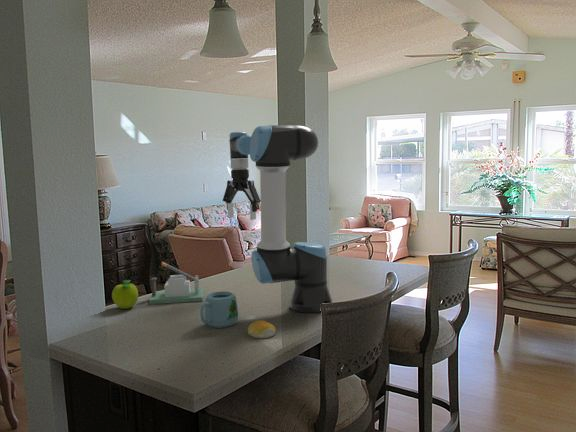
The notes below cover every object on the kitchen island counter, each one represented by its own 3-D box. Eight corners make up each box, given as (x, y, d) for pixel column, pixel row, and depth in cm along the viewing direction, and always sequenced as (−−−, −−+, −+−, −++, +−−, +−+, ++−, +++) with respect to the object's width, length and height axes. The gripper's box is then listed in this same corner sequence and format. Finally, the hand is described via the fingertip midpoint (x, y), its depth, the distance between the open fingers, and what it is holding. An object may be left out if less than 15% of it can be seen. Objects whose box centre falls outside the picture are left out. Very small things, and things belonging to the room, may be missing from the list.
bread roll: (265, 327, 167) (265, 315, 166) (279, 335, 159) (279, 322, 158) (242, 332, 162) (242, 320, 162) (255, 341, 155) (255, 328, 154)
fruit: (140, 303, 198) (138, 277, 197) (137, 310, 189) (135, 283, 188) (115, 305, 197) (113, 279, 195) (111, 312, 187) (109, 285, 186)
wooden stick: (197, 281, 205) (198, 279, 205) (197, 282, 203) (198, 280, 203) (161, 264, 203) (163, 261, 203) (160, 265, 201) (162, 262, 201)
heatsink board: (204, 292, 212) (203, 272, 211) (202, 301, 199) (201, 279, 198) (155, 294, 210) (153, 274, 209) (149, 303, 197) (148, 282, 196)
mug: (214, 335, 160) (213, 304, 159) (189, 329, 166) (187, 299, 165) (245, 322, 172) (244, 292, 171) (220, 316, 178) (219, 288, 177)
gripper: (267, 168, 215) (269, 219, 217) (226, 168, 231) (228, 216, 233) (254, 169, 209) (256, 221, 211) (213, 169, 225) (215, 218, 227)
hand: (241, 218), depth 222 cm, fingers open, 13 cm apart
